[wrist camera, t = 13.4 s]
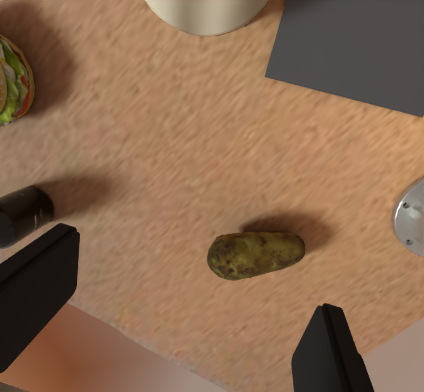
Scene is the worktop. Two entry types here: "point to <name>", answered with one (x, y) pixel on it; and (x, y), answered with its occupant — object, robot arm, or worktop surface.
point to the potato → (254, 253)
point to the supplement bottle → (23, 214)
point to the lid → (207, 14)
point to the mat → (354, 50)
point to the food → (14, 82)
